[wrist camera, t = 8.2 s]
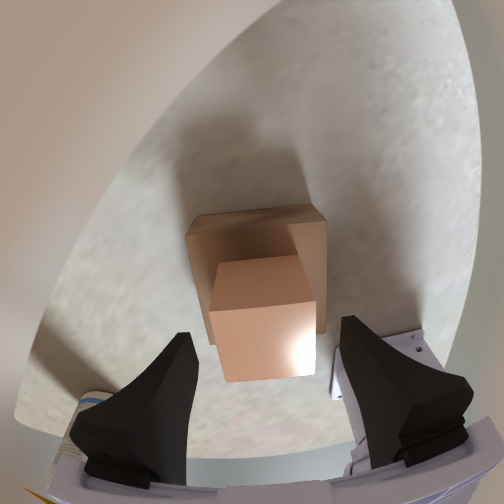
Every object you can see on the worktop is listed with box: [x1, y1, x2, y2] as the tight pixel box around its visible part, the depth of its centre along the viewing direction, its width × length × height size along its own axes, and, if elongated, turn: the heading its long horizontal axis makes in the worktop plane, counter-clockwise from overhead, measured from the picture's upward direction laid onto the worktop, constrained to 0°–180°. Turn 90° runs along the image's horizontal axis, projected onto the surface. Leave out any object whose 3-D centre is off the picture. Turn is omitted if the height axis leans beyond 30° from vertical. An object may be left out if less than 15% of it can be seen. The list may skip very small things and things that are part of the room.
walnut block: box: [185, 204, 327, 345], centre depth 19 cm, size 8×8×4 cm
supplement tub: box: [47, 391, 114, 487], centre depth 22 cm, size 10×10×15 cm
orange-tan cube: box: [208, 254, 316, 382], centre depth 15 cm, size 5×5×5 cm
